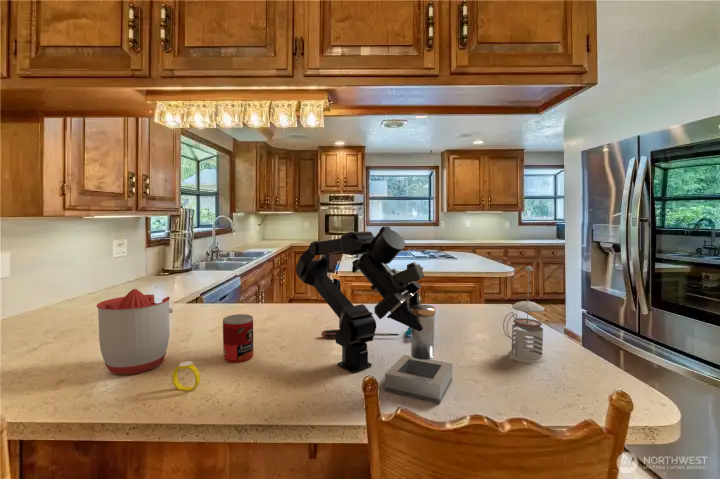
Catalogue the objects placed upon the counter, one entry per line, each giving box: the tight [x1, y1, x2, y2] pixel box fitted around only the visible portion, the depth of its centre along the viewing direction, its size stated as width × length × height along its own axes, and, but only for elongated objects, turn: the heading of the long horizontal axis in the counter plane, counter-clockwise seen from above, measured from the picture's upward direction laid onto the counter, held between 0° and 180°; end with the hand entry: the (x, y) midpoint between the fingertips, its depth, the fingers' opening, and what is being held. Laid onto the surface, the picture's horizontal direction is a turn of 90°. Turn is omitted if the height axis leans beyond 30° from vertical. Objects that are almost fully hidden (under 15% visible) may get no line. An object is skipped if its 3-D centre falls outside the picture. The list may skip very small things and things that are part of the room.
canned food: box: [222, 313, 254, 364], centre depth 96 cm, size 8×8×11 cm
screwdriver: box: [321, 328, 400, 340], centre depth 112 cm, size 25×3×3 cm, turn 88°
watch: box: [171, 360, 201, 392], centre depth 78 cm, size 6×3×6 cm, turn 80°
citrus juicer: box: [96, 288, 174, 376], centre depth 91 cm, size 16×17×20 cm
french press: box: [502, 265, 547, 365], centre depth 97 cm, size 10×12×25 cm
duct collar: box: [384, 354, 453, 405], centre depth 80 cm, size 12×12×4 cm
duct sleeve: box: [410, 304, 436, 360], centre depth 80 cm, size 5×5×11 cm
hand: (424, 326), depth 80 cm, fingers closed on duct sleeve, 5 cm apart
